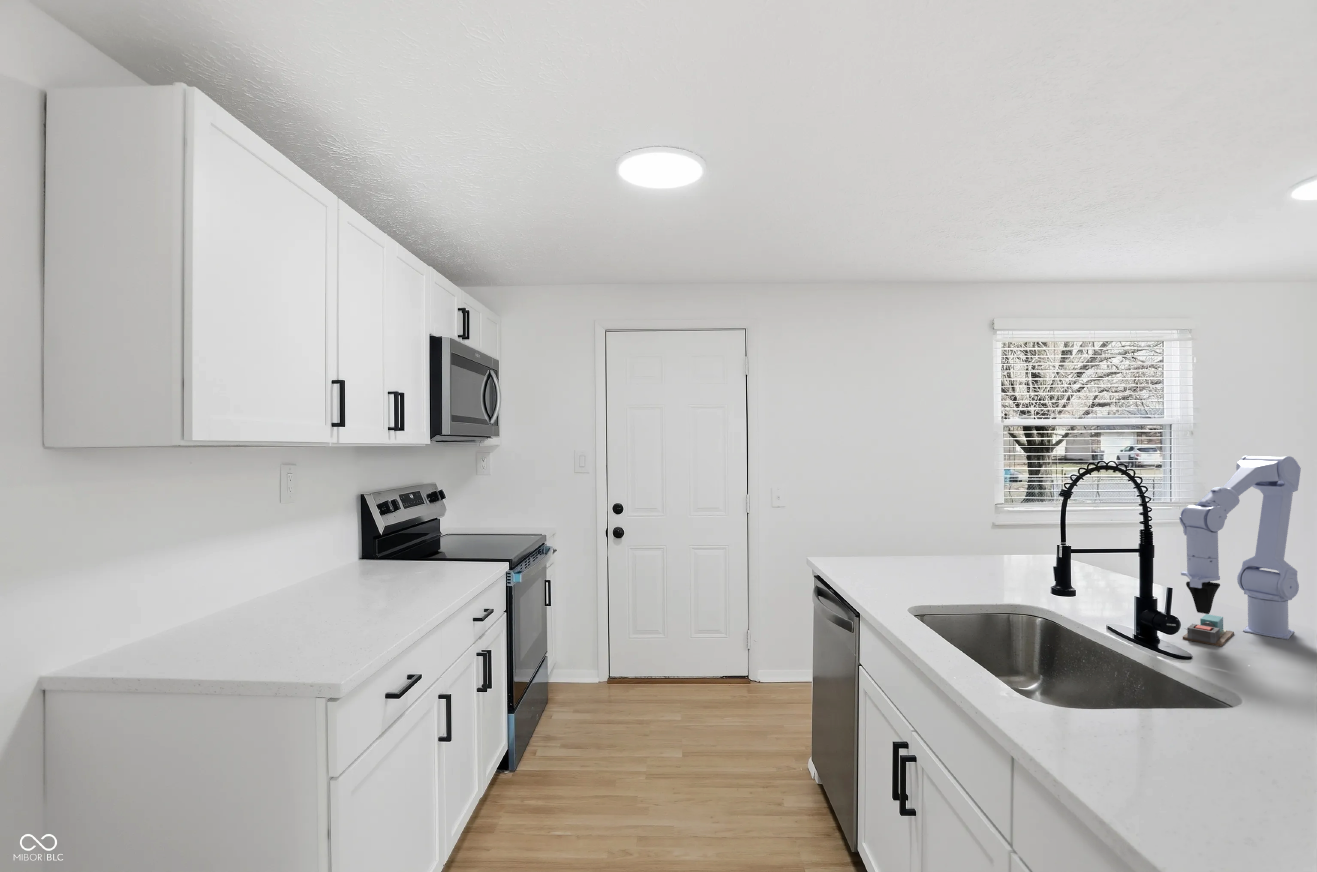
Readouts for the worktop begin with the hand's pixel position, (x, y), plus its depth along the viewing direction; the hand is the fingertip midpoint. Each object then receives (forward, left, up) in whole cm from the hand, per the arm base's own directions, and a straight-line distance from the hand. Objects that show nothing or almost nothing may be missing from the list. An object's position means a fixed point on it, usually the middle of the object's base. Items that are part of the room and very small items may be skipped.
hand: (1203, 612), depth 148 cm
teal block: (-9, 0, -6) cm, 10 cm away
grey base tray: (-5, 0, -7) cm, 8 cm away
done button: (0, 0, -6) cm, 6 cm away
